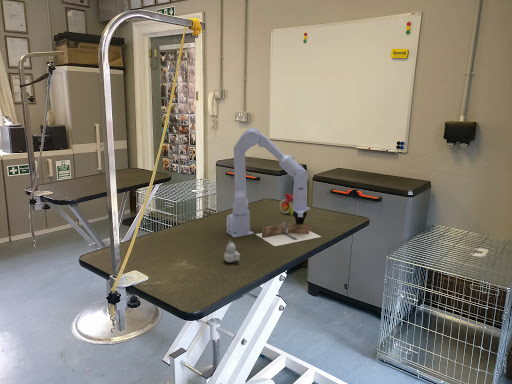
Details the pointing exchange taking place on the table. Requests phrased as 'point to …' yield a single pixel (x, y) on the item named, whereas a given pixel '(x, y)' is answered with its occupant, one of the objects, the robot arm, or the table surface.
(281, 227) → the fixed fence section
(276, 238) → the card
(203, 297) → the table surface
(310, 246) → the table surface
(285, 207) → the bird rattle
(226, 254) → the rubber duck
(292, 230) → the brown wooden bar
